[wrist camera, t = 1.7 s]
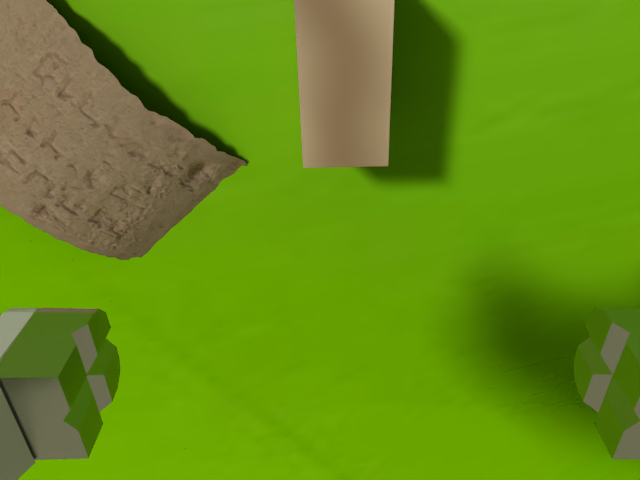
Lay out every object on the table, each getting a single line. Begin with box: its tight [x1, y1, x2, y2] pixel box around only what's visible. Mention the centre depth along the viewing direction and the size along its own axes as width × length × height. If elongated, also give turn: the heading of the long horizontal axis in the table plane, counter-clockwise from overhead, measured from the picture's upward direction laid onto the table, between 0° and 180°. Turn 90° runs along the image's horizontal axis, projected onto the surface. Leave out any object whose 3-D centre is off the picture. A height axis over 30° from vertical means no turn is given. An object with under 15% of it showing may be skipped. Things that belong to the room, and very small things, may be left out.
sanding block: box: [294, 0, 395, 168], centre depth 23 cm, size 4×7×5 cm, turn 2°
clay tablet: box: [0, 0, 247, 260], centre depth 27 cm, size 14×10×3 cm
